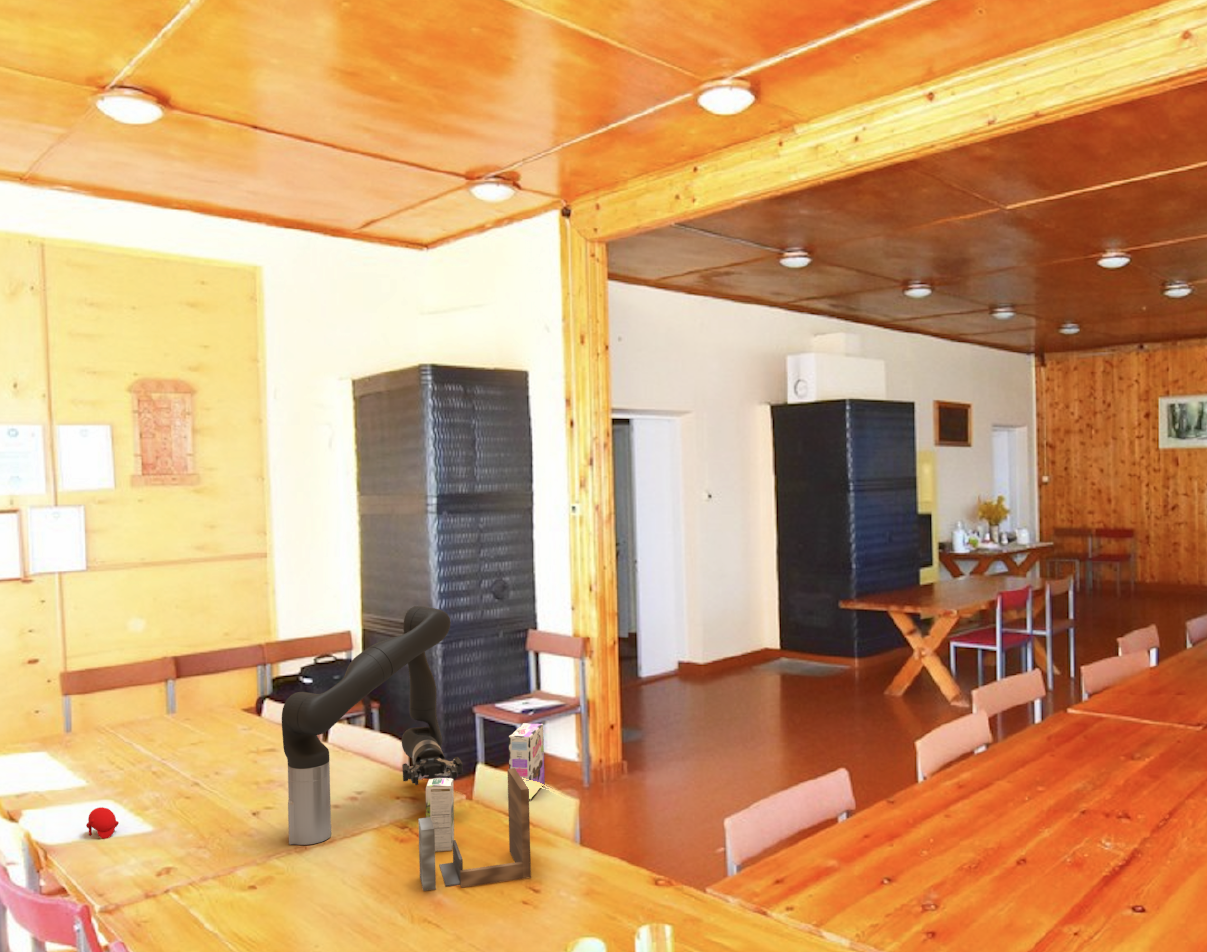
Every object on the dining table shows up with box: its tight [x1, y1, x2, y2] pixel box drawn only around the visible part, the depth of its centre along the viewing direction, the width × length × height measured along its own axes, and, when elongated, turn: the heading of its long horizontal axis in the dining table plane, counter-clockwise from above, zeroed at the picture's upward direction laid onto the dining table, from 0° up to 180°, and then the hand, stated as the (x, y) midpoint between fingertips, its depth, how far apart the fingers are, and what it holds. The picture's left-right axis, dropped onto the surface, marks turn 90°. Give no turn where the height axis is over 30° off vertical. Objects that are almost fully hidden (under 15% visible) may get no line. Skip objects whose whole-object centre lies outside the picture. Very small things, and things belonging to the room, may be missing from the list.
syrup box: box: [425, 777, 455, 853], centre depth 209 cm, size 6×6×14 cm
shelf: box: [418, 768, 532, 892], centre depth 195 cm, size 22×15×18 cm
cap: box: [86, 806, 120, 840], centre depth 222 cm, size 8×6×6 cm
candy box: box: [508, 722, 546, 785], centre depth 245 cm, size 14×6×16 cm, turn 168°
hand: (435, 778), depth 220 cm, fingers open, 8 cm apart
